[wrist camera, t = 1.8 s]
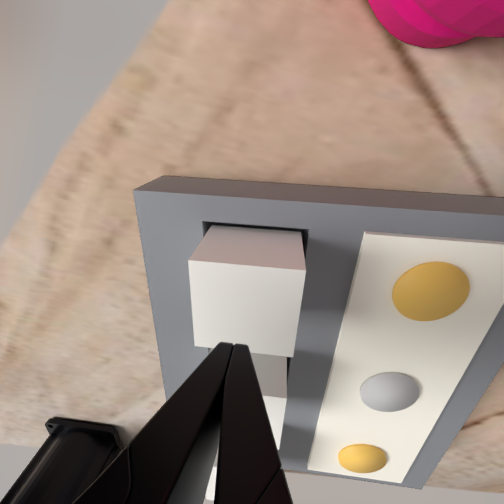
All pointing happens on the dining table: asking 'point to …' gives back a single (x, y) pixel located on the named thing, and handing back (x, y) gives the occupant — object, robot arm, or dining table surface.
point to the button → (247, 288)
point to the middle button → (272, 388)
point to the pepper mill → (440, 20)
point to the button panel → (351, 313)
